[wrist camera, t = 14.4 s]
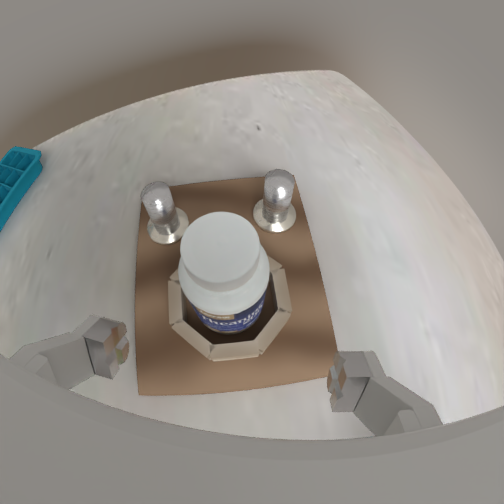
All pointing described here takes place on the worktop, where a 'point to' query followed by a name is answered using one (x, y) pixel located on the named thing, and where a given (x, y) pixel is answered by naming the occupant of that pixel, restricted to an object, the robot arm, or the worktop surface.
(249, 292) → the pill bottle
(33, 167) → the ice cube tray
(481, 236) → the worktop surface
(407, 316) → the worktop surface
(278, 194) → the steel pins
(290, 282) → the board
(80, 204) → the worktop surface
